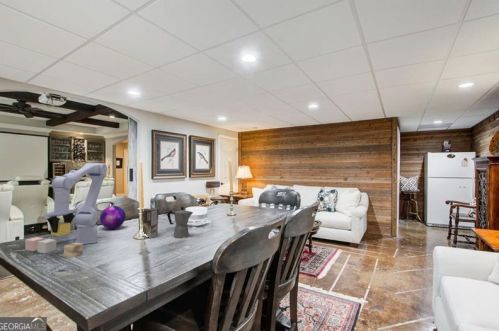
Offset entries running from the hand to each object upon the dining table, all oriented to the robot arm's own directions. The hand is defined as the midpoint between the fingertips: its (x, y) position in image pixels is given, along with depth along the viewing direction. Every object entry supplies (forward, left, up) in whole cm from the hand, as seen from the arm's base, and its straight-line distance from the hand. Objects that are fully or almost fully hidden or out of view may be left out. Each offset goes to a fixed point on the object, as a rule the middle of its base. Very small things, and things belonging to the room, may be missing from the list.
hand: (60, 231), depth 118 cm
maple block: (-5, +7, -10) cm, 13 cm away
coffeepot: (-58, 0, -11) cm, 59 cm away
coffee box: (-42, -9, -11) cm, 45 cm away
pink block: (+10, -13, -10) cm, 19 cm away
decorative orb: (-27, -39, -11) cm, 49 cm away
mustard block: (0, 0, -1) cm, 1 cm away
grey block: (+5, -6, -10) cm, 13 cm away
